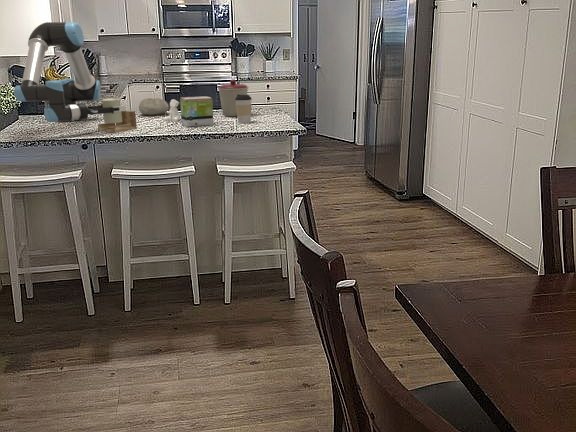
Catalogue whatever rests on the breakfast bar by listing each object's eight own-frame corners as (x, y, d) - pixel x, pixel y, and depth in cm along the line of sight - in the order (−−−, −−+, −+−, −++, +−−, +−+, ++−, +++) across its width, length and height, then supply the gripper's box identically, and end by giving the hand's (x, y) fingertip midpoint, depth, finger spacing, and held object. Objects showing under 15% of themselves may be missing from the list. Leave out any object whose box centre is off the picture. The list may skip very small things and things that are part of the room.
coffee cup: (255, 121, 328) (254, 93, 324) (248, 123, 320) (247, 95, 315) (240, 120, 331) (238, 93, 326) (233, 123, 323) (232, 95, 318)
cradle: (97, 130, 308) (95, 112, 305) (119, 126, 319) (117, 109, 316) (115, 132, 300) (113, 114, 298) (136, 128, 311) (135, 111, 309)
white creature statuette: (162, 121, 333) (160, 100, 330) (171, 119, 341) (169, 98, 337) (176, 122, 329) (174, 100, 326) (185, 120, 337) (183, 98, 333)
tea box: (187, 127, 312) (185, 99, 308) (181, 124, 321) (179, 97, 316) (214, 125, 319) (212, 97, 314) (207, 122, 328) (206, 95, 323)
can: (117, 123, 301) (114, 99, 298) (100, 123, 303) (98, 99, 300) (125, 120, 310) (123, 97, 306) (109, 120, 312) (106, 97, 308)
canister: (213, 117, 346) (211, 80, 339) (227, 113, 362) (226, 77, 355) (241, 118, 339) (239, 80, 333) (254, 114, 355) (253, 78, 348)
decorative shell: (153, 112, 371) (152, 96, 368) (175, 113, 363) (174, 97, 360) (133, 116, 357) (131, 99, 354) (155, 117, 348) (154, 100, 345)
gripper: (70, 117, 302) (112, 112, 316) (87, 121, 287) (130, 116, 301) (68, 102, 300) (110, 98, 314) (85, 105, 284) (129, 101, 298)
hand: (120, 107), depth 307 cm, fingers closed on can, 9 cm apart
